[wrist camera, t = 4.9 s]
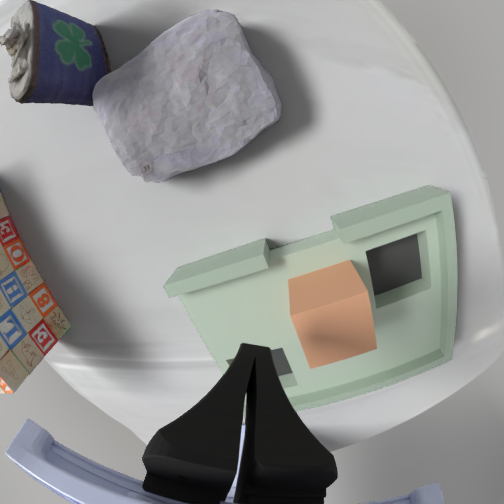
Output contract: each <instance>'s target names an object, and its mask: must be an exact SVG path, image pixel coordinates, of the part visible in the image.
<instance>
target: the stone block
mask: <svg viewBox="0 0 504 504" xmlns="http://www.w3.org/2000/svg"><path fill="white" fill-rule="evenodd" d="M92 96H93V105H94V106H93V107H94V110H95V111H96V112H97V115H98V118H99V119H100V120H101V122H102V125H103V127H104V129H105V131H106V134H107V135H108V137H109V140H110V142H111V145H112V147H113V149H114V150H115V152H116V154H117V156H118V157H119V159H120V160H121V162H122V164H123V166H124V167H125V168H126V169H127V171H128V172H129V173H130V174H131V175H132V176H141V177H142V178H143V180H144V181H146V182H157V183H159V182H162V181H165V180H167V179H169V178H171V177H173V176H175V175H177V174H180V173H183V172H185V171H190V170H195V169H198V168H199V167H202V166H205V165H209V164H211V163H215V162H217V161H219V160H222V159H225V158H227V157H230V156H232V155H234V154H236V153H237V152H238V151H239V150H240V149H241V148H242V147H244V146H245V145H247V144H248V143H250V142H251V140H252V139H254V138H255V137H256V136H257V135H258V134H259V133H260V132H261V131H262V130H264V129H265V128H267V127H269V126H270V125H272V124H274V123H276V122H277V121H278V120H279V118H280V115H281V110H282V105H281V101H280V99H279V96H278V93H277V90H276V88H275V83H274V81H273V79H272V76H271V75H270V74H269V73H268V72H267V71H266V70H265V68H264V67H263V66H262V65H261V62H260V61H258V59H257V58H256V57H255V56H254V54H252V53H251V50H250V48H249V45H248V43H247V40H246V39H245V35H244V33H243V30H242V26H241V25H240V23H239V22H238V20H237V18H236V17H235V15H233V14H231V13H228V12H223V11H219V10H205V11H203V12H200V13H198V14H195V15H192V16H189V17H187V18H185V19H184V20H182V21H180V22H178V23H177V24H175V25H174V26H172V27H171V28H169V29H168V30H166V31H165V32H163V33H162V34H161V35H160V36H158V37H157V38H156V39H154V40H153V41H152V42H151V43H150V44H149V45H148V46H147V47H146V48H145V49H144V50H142V51H141V52H140V53H139V54H138V55H136V56H135V57H134V58H133V59H131V60H129V61H127V62H126V63H124V64H123V65H122V66H121V67H120V68H118V69H116V70H114V71H113V72H111V73H109V74H107V75H105V76H104V77H102V78H101V79H100V80H99V81H98V82H97V83H96V85H95V87H94V90H93V95H92Z"/></svg>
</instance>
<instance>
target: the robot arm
mask: <svg viewBox="0 0 504 504" xmlns="http://www.w3.org/2000/svg"><path fill="white" fill-rule="evenodd" d="M246 392H247V394H246ZM245 396H246V417H245V424H244V425H242V420H243V412H244V403H245ZM5 454H6V455H7V456H8V457H9V458H10V459H11V460H12V461H13V462H14V463H16V464H17V465H18V466H19V467H20V468H21V469H22V470H24V471H25V472H26V473H27V474H28V475H29V476H31V477H32V478H33V479H35V480H36V481H38V482H39V483H41V484H42V485H44V486H45V487H47V488H48V489H50V490H51V491H53V492H54V493H56V494H58V495H59V496H61V497H62V498H64V499H66V500H68V501H69V502H71V503H73V504H324V497H326V488H327V487H329V486H330V485H331V484H332V483H333V482H334V481H335V480H336V479H337V476H338V475H337V474H338V473H337V467H336V463H335V459H334V456H333V455H332V454H331V453H330V452H329V451H328V450H327V449H326V448H325V447H324V446H323V445H322V444H321V443H320V442H319V441H318V440H317V439H316V438H315V437H314V436H313V434H312V433H311V432H310V431H309V429H308V428H307V427H306V426H305V424H304V423H303V422H302V420H301V419H300V417H299V416H298V414H297V413H296V411H295V410H294V408H293V406H292V405H291V403H290V401H289V399H288V397H287V395H286V393H285V391H284V389H283V387H282V384H281V382H280V379H279V377H278V374H277V371H276V368H275V365H274V362H273V358H272V353H271V349H270V348H269V347H266V346H259V345H254V344H248V343H242V344H240V347H239V350H238V352H237V354H236V356H235V358H234V360H233V362H232V363H231V365H230V366H229V368H228V369H227V371H226V372H225V374H224V375H223V376H222V377H221V379H220V380H219V381H218V382H217V384H216V385H215V386H214V387H213V388H212V389H211V390H210V391H209V392H208V394H207V395H206V396H205V397H203V398H202V399H201V400H200V401H199V402H198V403H197V404H196V405H195V406H193V407H192V408H191V409H190V410H188V411H187V412H186V413H184V414H183V415H182V416H180V417H179V418H177V419H176V420H174V421H173V422H171V423H169V424H168V425H166V426H164V427H163V428H161V429H159V430H158V431H157V432H156V434H155V435H154V436H153V438H152V439H151V440H150V442H149V444H148V445H147V447H146V449H145V452H144V455H143V457H142V461H143V463H144V465H145V468H146V470H147V474H146V477H145V480H144V481H141V480H138V479H135V478H132V477H130V476H127V475H125V474H122V473H120V472H117V471H115V470H112V469H110V468H108V467H105V466H103V465H101V464H99V463H97V462H94V461H92V460H90V459H88V458H86V457H84V456H82V455H80V454H78V453H76V452H74V451H73V450H71V449H69V448H67V447H66V446H64V445H62V444H60V443H59V442H57V441H55V440H54V438H53V437H52V435H51V434H50V433H49V432H48V431H47V430H45V429H44V428H42V427H41V426H39V425H38V424H36V423H35V422H33V421H32V420H30V419H27V420H26V421H25V423H24V424H23V426H22V427H21V428H20V430H19V431H18V433H17V434H16V436H15V438H14V439H13V441H12V442H11V444H10V445H9V447H8V448H7V450H6V452H5ZM361 504H445V502H444V498H443V494H442V490H441V486H440V483H439V482H436V483H433V484H429V485H426V486H423V487H420V488H418V489H416V490H414V491H412V492H411V493H410V494H408V495H404V496H399V497H395V498H390V499H385V500H379V501H373V502H367V503H361Z"/></svg>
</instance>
